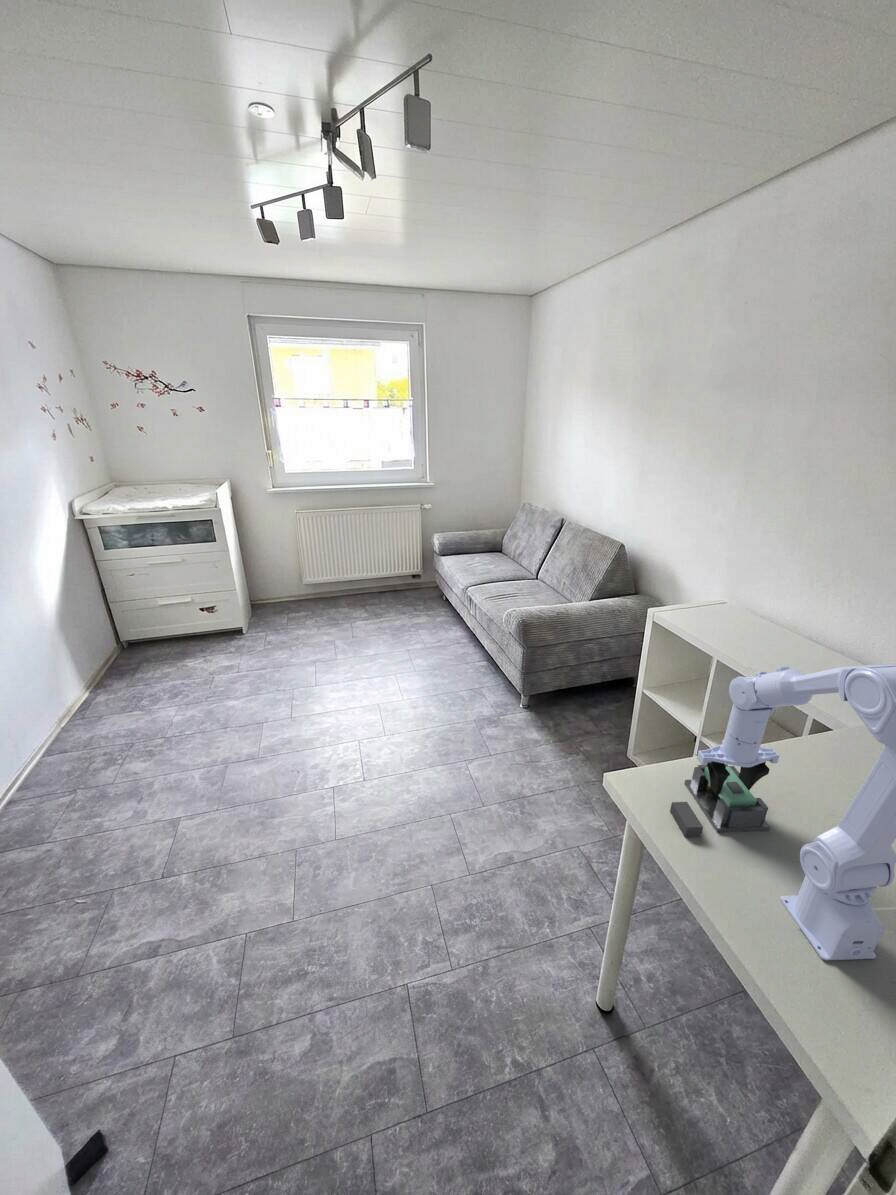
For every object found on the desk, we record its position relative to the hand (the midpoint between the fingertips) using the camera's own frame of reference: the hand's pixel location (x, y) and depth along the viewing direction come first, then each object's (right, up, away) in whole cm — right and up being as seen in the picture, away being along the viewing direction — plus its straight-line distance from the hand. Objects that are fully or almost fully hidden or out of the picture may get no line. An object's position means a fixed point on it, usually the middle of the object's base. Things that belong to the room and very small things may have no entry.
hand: (728, 790), depth 93 cm
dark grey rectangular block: (-10, -5, -2) cm, 11 cm away
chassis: (0, -4, +1) cm, 4 cm away
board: (0, 0, 0) cm, 0 cm away
